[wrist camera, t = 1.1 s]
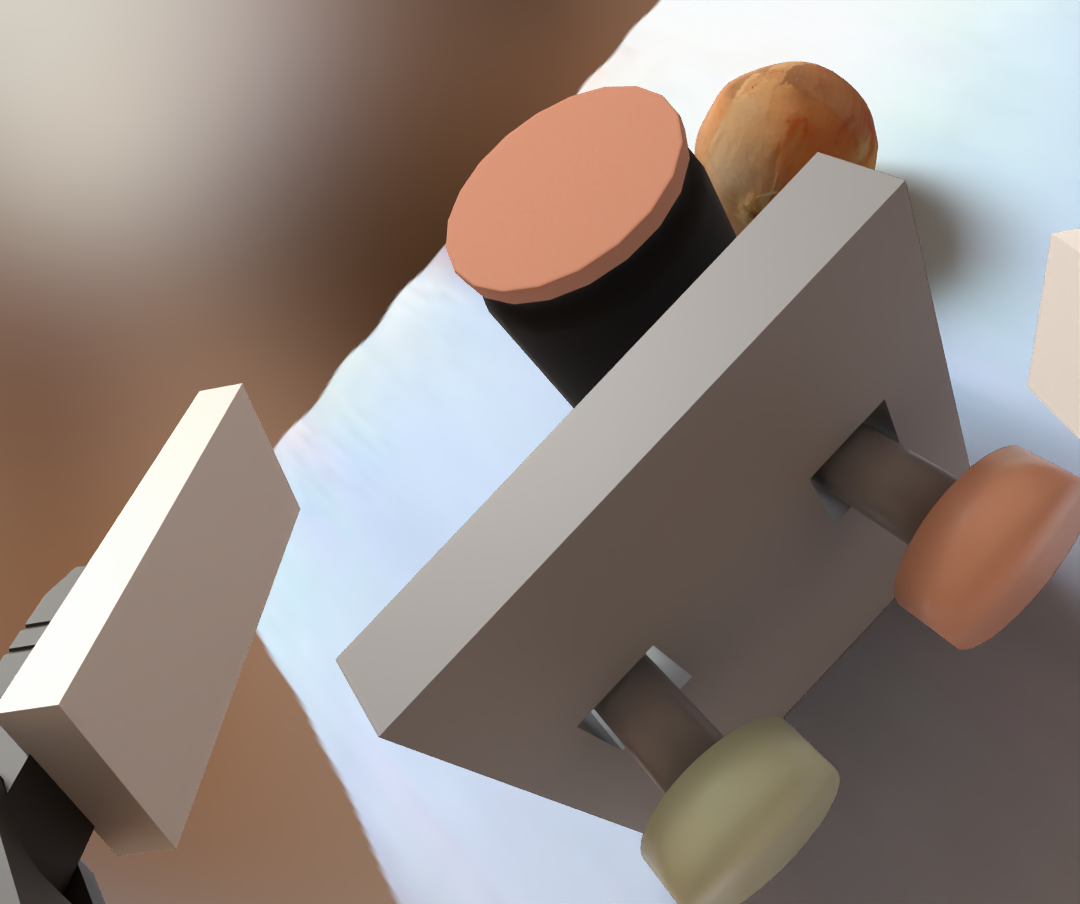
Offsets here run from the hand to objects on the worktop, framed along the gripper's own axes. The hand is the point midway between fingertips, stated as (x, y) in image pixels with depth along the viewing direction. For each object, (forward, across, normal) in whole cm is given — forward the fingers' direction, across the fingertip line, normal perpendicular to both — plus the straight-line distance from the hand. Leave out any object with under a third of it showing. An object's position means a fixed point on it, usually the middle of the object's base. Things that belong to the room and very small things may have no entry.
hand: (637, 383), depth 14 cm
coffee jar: (+27, +4, -19) cm, 33 cm away
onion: (+36, +12, -12) cm, 41 cm away
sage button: (+6, 0, -19) cm, 20 cm away
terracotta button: (+10, +9, -14) cm, 20 cm away
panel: (+13, +6, -23) cm, 27 cm away
